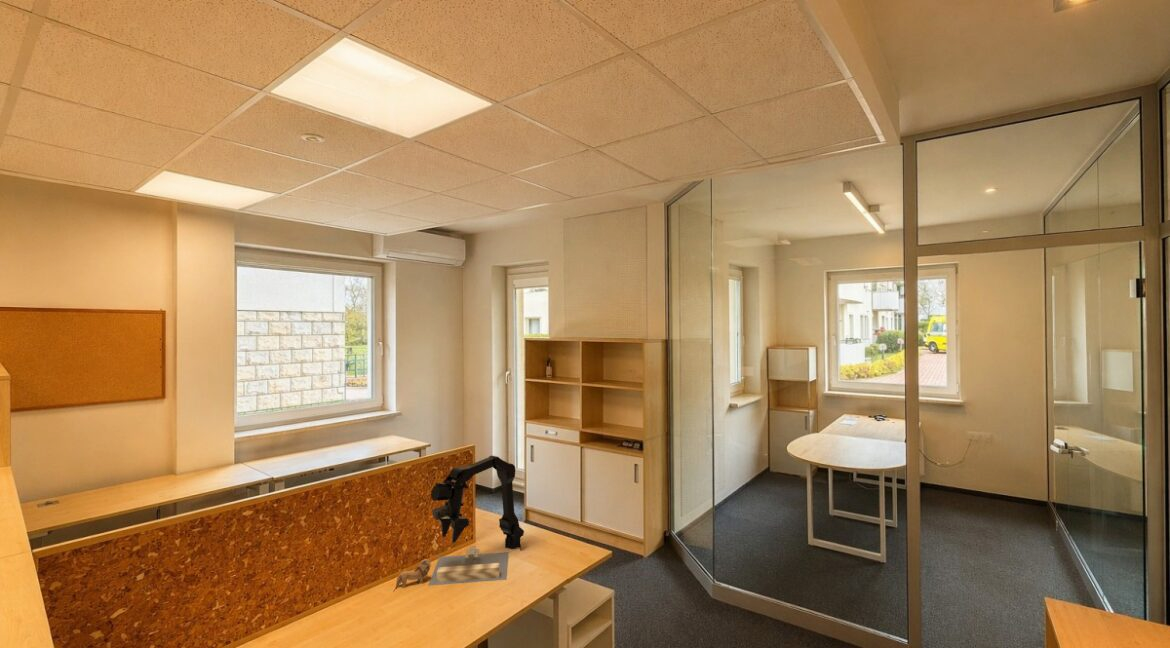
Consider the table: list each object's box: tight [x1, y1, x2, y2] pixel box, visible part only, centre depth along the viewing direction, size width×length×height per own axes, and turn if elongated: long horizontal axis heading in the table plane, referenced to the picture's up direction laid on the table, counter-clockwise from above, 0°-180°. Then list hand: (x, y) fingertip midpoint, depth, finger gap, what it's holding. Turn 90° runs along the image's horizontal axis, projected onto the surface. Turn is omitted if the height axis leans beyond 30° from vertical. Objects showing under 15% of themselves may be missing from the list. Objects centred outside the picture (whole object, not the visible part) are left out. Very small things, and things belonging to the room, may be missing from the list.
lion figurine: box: [392, 558, 432, 593], centre depth 194 cm, size 15×5×9 cm, turn 130°
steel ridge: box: [465, 545, 480, 565], centre depth 211 cm, size 5×8×5 cm, turn 7°
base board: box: [428, 551, 509, 586], centre depth 207 cm, size 30×25×1 cm
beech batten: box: [437, 563, 500, 582], centre depth 198 cm, size 24×4×4 cm, turn 97°
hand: (448, 539), depth 201 cm, fingers open, 9 cm apart
